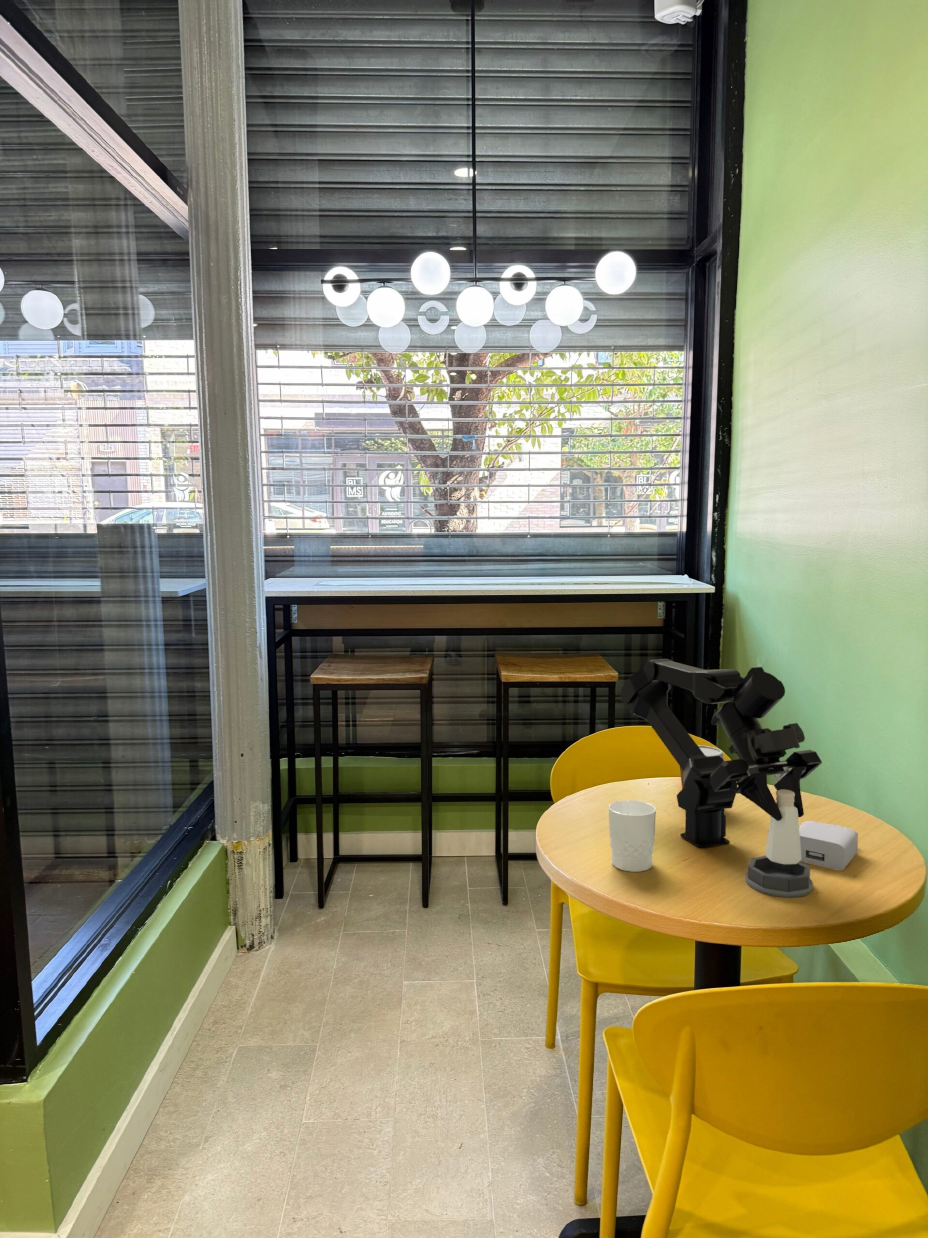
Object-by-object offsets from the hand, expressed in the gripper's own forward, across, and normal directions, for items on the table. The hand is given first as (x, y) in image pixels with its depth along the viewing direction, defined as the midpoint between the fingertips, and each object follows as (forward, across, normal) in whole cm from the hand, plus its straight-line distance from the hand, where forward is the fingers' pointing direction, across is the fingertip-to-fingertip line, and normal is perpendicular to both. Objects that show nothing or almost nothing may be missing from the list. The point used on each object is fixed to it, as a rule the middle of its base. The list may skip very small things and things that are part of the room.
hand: (790, 818), depth 126 cm
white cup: (-4, -18, +20) cm, 28 cm away
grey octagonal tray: (+7, -1, +9) cm, 11 cm away
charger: (+2, +17, +15) cm, 22 cm away
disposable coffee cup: (-18, +11, +35) cm, 40 cm away
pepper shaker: (+4, 0, +6) cm, 7 cm away
